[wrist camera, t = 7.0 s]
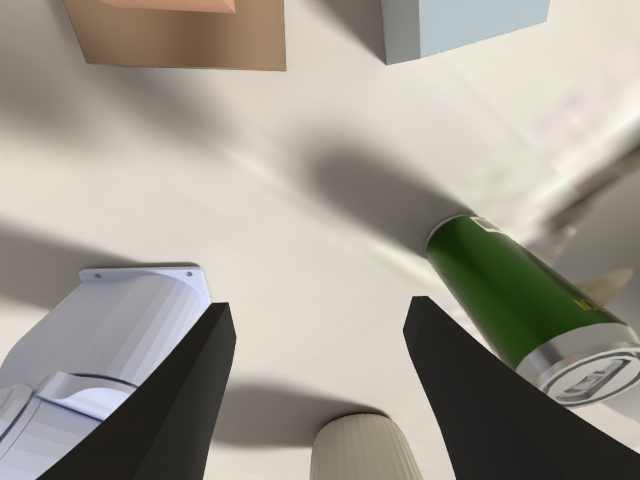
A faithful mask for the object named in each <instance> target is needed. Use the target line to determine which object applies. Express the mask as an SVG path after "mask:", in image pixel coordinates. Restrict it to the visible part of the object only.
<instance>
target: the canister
mask: <svg viewBox="0 0 640 480" xmlns="http://www.w3.org/2000/svg"><path fill="white" fill-rule="evenodd" d="M310 480H423V478H422V475H421V473H420V470H419V468H418V466H417V463H416V461H415V458H414V456H413V454H412V451H411V449H410V446H409V444H408V442H407V440H406V438H405V436H404V434H403V432H402V431H401V430H400V428H399V427H398V426H397V425H396V424H395V423H394V422H393V421H392V420H390V419H389V418H386V417H384V416H381V415H376V414H355V415H349V416H344V417H341V418H338V419H336V420H333V421H332V422H329V423H328V424H327V425H325V426H324V427H323V428H322V429H321V430H320V431H319V433H318V434H317V436H316V438H315V441H314V444H313V448H312V455H311V466H310Z"/></svg>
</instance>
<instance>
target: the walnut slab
mask: <svg viewBox="0 0 640 480" xmlns="http://www.w3.org/2000/svg"><path fill="white" fill-rule="evenodd" d="M63 1H64V4H65V7H66V9H67V12H68V15H69V17H70V20H71V23H72V25H73V28H74V31H75V33H76V36H77V39H78V41H79V44H80V46H81V49H82V52H83V54H84V57H85V60H86V62H87V63H89V64H100V65H111V66H125V67H159V68H193V69H226V70H260V71H286V51H285V25H284V0H234V5H235V13H218V12H199V11H180V10H161V9H142V8H123V7H114V6H111V5H109V4H106V3H104V2H101V1H99V0H63Z"/></svg>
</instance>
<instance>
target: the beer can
mask: <svg viewBox="0 0 640 480" xmlns="http://www.w3.org/2000/svg"><path fill="white" fill-rule="evenodd" d="M426 257H427V259H428V261H429V262H430V264H431V265H432V267H433V268H434V270H435V271H436V272H437V274H438V275H439V277H440V278H441V279H442V281H443V282H444V284H445V285H446V286H447V288H448V289H449V291H450V292H451V293H452V295H453V296H454V298H455V299H456V300H457V302H458V303H459V305H460V306H461V307H462V309H463V310H464V311H465V313H466V314H467V316H468V317H469V318H470V320H471V321H472V323H473V324H474V325H475V327H476V328H477V330H478V331H479V332H480V334H481V335H482V337H483V338H484V339H485V341H486V342H487V344H488V345H489V346H490V348H491V349H492V350H493V352H494V353H495V355H496V356H497V357H498V359H500V360H501V361H502V362H503V363H505V364H506V365H507V366H508V367H510V368H511V369H512V370H513V371H515V372H516V373H517V374H519V375H520V376H521V377H523V378H524V379H525V380H527V381H528V382H530V383H531V384H532V385H534V386H535V387H536V388H538V389H539V390H541V391H542V392H543V393H545V394H546V395H548V396H549V397H550V398H552V399H553V400H555V401H556V402H558V403H559V404H561V405H562V406H564V407H565V408H567V409H568V410H569V409H575V408H580V407H585V406H589V405H593V404H596V403H599V402H602V401H605V400H607V399H609V398H612V397H614V396H617V395H619V394H621V393H623V392H625V391H627V390H628V389H630V388H632V387H634V386H635V385H637V384H638V383H640V340H639V338H638V336H637V334H636V333H635V332H634V331H633V329H632V328H631V327H630V326H628V325H627V324H626V323H624V322H623V321H622V320H620V319H619V318H618V317H616V316H615V315H614V314H612V313H611V312H610V311H608V310H607V309H606V308H604V307H603V306H602V305H600V304H599V303H597V302H596V301H595V300H593V299H592V298H591V297H589V296H588V295H587V294H585V293H584V292H583V291H581V290H580V289H579V288H577V287H576V286H575V285H573V284H572V283H570V282H569V281H567V280H566V279H565V278H564V277H562V276H561V275H559V274H558V273H557V272H556V271H554V270H553V269H552V268H550V267H549V266H547V265H546V264H545V263H543V262H542V261H541V260H539V259H538V258H537V257H535V256H534V255H533V254H531V253H530V252H529V251H527V250H526V249H525V248H523V247H522V246H520V245H519V244H518V243H516V242H515V241H514V240H512V239H511V238H510V237H508V236H507V235H506V234H504V233H503V232H502V231H500V230H499V229H497V228H496V227H495V226H493V225H492V224H491V223H489V222H488V221H487V220H485V219H484V218H481V217H479V216H476V215H455V216H452V217H449V218H447V219H445V220H443V221H441V222H440V223H439V224H438V225H437V226H436V227H434V228H433V230H432V231H431V233H430V234H429V236H428V238H427V242H426Z"/></svg>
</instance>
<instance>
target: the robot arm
mask: <svg viewBox="0 0 640 480" xmlns="http://www.w3.org/2000/svg"><path fill="white" fill-rule="evenodd" d="M189 272H191V273H192V274H191V273H189ZM99 274H100V275H99ZM78 276H79V278H80V280H81V281H82V283H81V284H80V285H79V286H78V287H76V288H75V289H74V290H73V291H72V292H71V293H70V294H69V295H68V296H67V297H66V298H64V299H63V300H62V301H61V302H60V303H59V304H58V305H57V306H56V307H55V308H54V309H52V310H51V311H50V312H49V313H48V314H47V315H46V316H45V317H44V318H43V319H42V320H40V321H39V322H38V323H37V324H36V325H35V326H34V327H33V328H32V329H31V330H29V331H28V332H27V333H26V334H25V335H24V336H23V337H22V338H21V339H20V340H19V341H18V342H17V343H16V344H15V345H14V346H13V348H12V349H11V350H10V352H9V353H8V355H7V356H6V358H5V360H4V361H3V363H2V366H1V368H0V480H203V476H204V471H205V466H206V461H207V456H208V451H209V446H210V442H211V438H212V434H213V430H214V426H215V423H216V419H217V416H218V412H219V409H220V405H221V402H222V398H223V395H224V391H225V388H226V384H227V381H228V377H229V373H230V370H231V366H232V361H233V356H234V350H235V344H236V333H235V329H234V325H233V320H232V316H231V312H230V307H229V303H228V302H223V303H212V301H211V298H210V294H209V291H208V287H207V284H206V280H205V276H204V273H203V270H202V269H201V268H200V267H196V266H192V267H147V268H102V269H82V270H81V271H80V272H79V273H78ZM403 334H404V337H405V341H406V345H407V348H408V351H409V354H410V357H411V360H412V362H413V365H414V367H415V369H416V372H417V374H418V377H419V379H420V381H421V384H422V386H423V388H424V391H425V393H426V395H427V398H428V400H429V403H430V405H431V407H432V410H433V412H434V414H435V417H436V419H437V422H438V425H439V427H440V430H441V433H442V436H443V439H444V442H445V445H446V448H447V451H448V454H449V457H450V460H451V463H452V467H453V470H454V473H455V477H456V480H640V454H639V453H637V452H635V451H634V450H632V449H630V448H629V447H627V446H625V445H624V444H622V443H620V442H618V441H617V440H615V439H613V438H612V437H610V436H609V435H607V434H605V433H604V432H602V431H601V430H599V429H597V428H596V427H594V426H593V425H591V424H589V423H588V422H586V421H585V420H583V419H582V418H580V417H579V416H577V415H576V414H574V413H573V412H571V411H570V410H568V409H567V408H565V407H564V406H562V405H561V404H559V403H558V402H556V401H555V400H553V399H552V398H550V397H549V396H548V395H546V394H545V393H543V392H542V391H541V390H539V389H538V388H536V387H535V386H534V385H532V384H531V383H530V382H528V381H527V380H525V379H524V378H523V377H521V376H520V375H519V374H517V373H516V372H515V371H513V370H512V369H511V368H510V367H508V366H507V365H506V364H505V363H503V362H502V361H501V360H500V359H498V358H497V357H496V356H495V355H493V354H492V353H491V352H490V351H489V350H487V349H486V348H485V347H484V346H483V345H481V344H480V343H479V342H478V341H477V340H476V339H474V338H473V337H472V336H471V335H470V334H469V333H468V332H467V331H465V330H464V329H463V328H462V327H461V326H460V325H459V324H458V323H457V322H455V321H454V320H453V319H452V318H451V317H450V316H449V315H448V314H447V313H446V312H445V311H443V310H442V309H441V308H440V307H439V306H438V305H437V304H436V303H435V302H434V301H433V300H431V299H430V298H429V297H428V296H413V297H412V300H411V304H410V307H409V311H408V314H407V317H406V321H405V324H404V328H403Z"/></svg>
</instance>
